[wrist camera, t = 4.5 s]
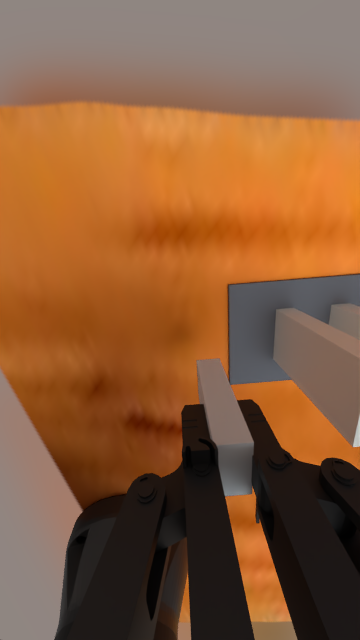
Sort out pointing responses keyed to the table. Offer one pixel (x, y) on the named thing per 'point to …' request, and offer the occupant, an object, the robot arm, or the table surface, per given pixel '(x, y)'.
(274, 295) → the mat
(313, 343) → the domino
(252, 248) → the table surface
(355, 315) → the domino
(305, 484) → the robot arm
